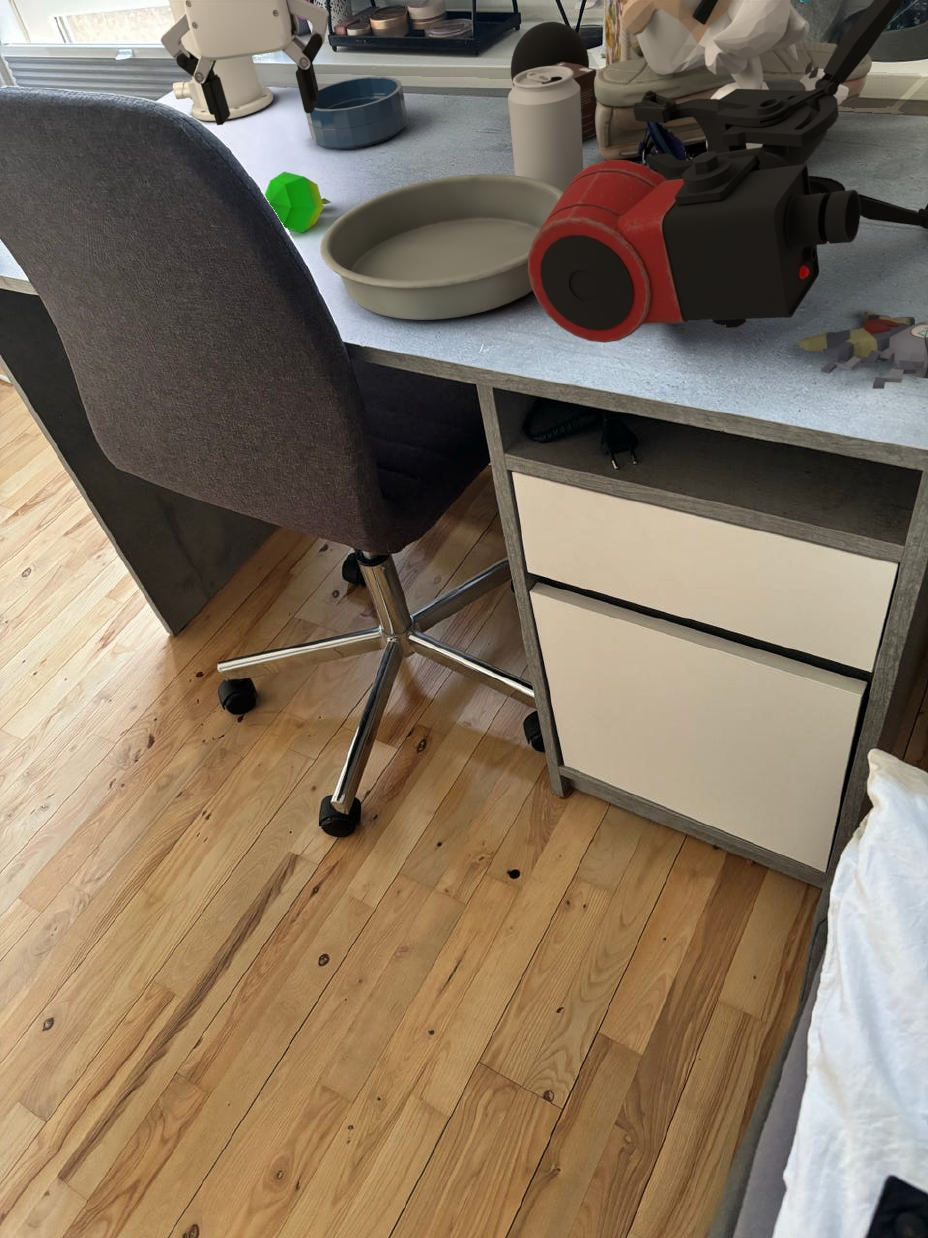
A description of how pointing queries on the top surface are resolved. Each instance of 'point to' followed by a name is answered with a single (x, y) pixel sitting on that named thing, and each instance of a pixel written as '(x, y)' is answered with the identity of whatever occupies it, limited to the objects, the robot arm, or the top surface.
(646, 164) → the spaceship
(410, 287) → the cake pan
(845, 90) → the giant panda
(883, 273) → the top surface
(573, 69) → the box
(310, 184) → the apple
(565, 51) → the decorative ball
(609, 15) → the decorative jar
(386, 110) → the bowl
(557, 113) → the can
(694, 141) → the loafer
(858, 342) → the toy
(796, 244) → the camera
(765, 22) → the toy
